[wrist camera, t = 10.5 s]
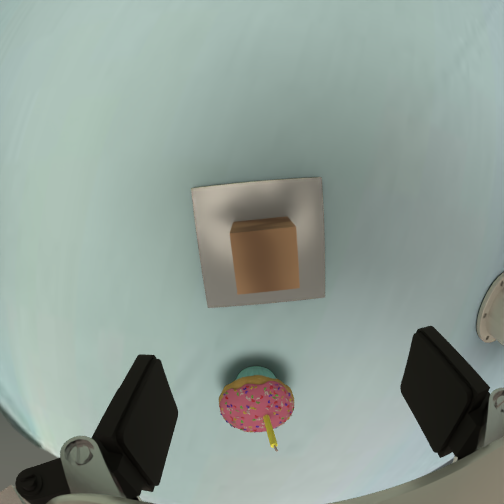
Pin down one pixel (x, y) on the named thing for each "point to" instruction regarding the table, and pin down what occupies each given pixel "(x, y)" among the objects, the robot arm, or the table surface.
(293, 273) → the walnut cube
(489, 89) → the table surface
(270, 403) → the cupcake
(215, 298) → the slate coaster
